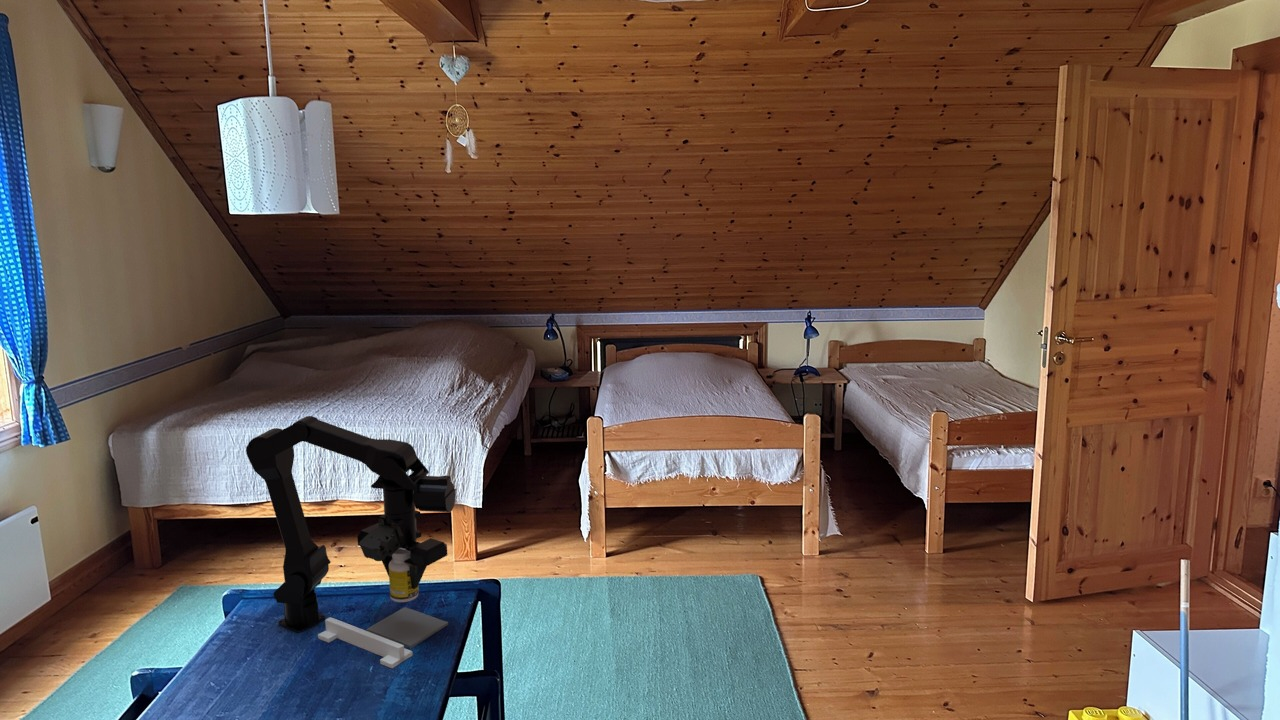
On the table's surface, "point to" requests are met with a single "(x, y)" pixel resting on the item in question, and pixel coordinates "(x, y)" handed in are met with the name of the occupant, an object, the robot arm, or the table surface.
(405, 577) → the supplement bottle
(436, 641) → the table surface
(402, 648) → the white barrier
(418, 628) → the slate mat
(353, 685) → the table surface
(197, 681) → the table surface
